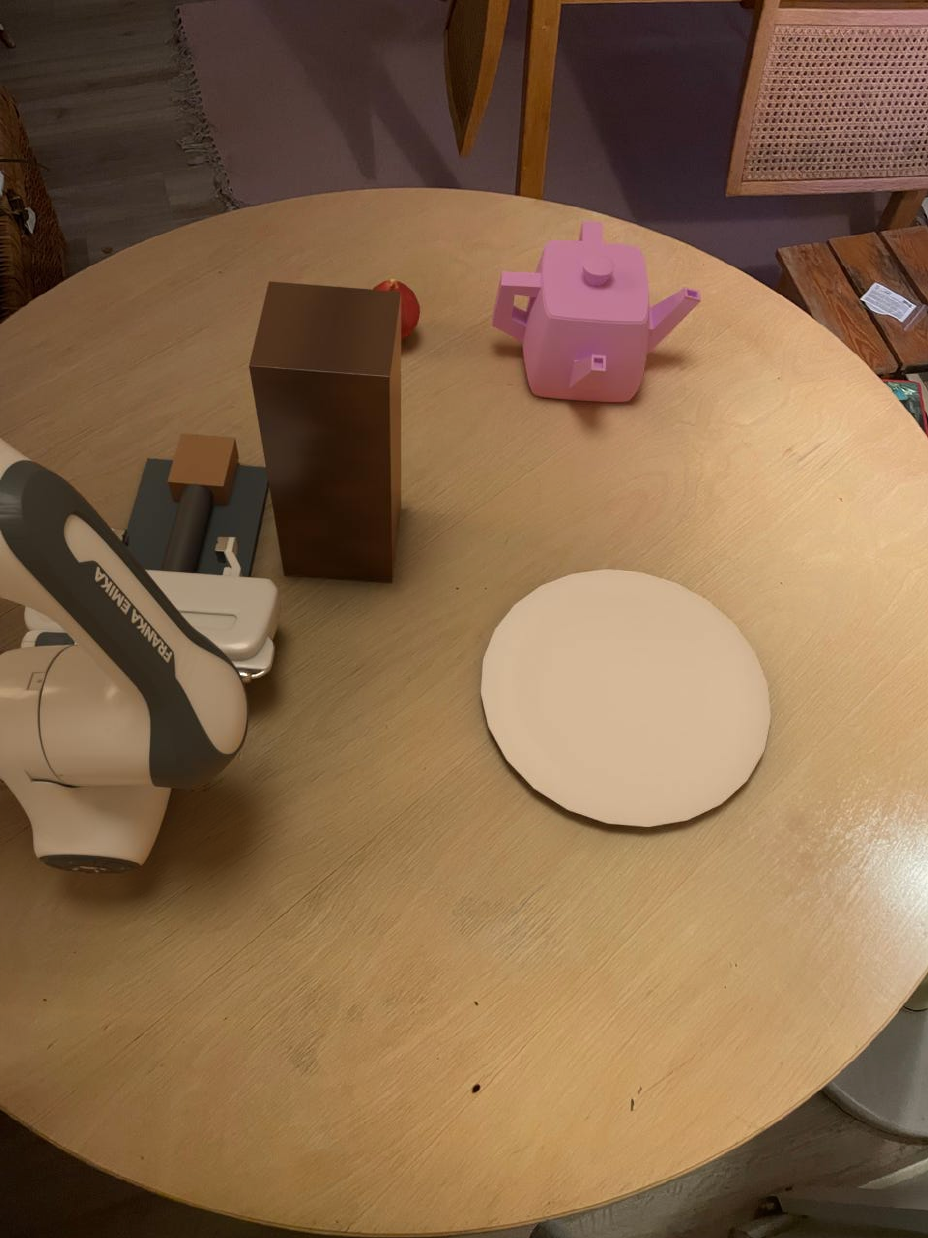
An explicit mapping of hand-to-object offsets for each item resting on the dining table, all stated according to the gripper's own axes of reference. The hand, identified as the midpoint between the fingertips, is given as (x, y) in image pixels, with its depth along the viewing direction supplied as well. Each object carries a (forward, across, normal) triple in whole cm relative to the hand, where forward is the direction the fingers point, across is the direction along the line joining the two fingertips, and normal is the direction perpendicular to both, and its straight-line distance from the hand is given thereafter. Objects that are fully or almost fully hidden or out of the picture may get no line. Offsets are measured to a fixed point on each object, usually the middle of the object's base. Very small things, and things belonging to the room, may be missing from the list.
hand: (174, 536), depth 90 cm
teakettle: (+32, -37, +6) cm, 49 cm away
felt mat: (+3, 0, +6) cm, 6 cm away
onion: (+32, -16, +6) cm, 37 cm away
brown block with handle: (+5, 0, +5) cm, 7 cm away
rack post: (+5, -14, +6) cm, 16 cm away
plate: (-10, -40, +6) cm, 41 cm away
